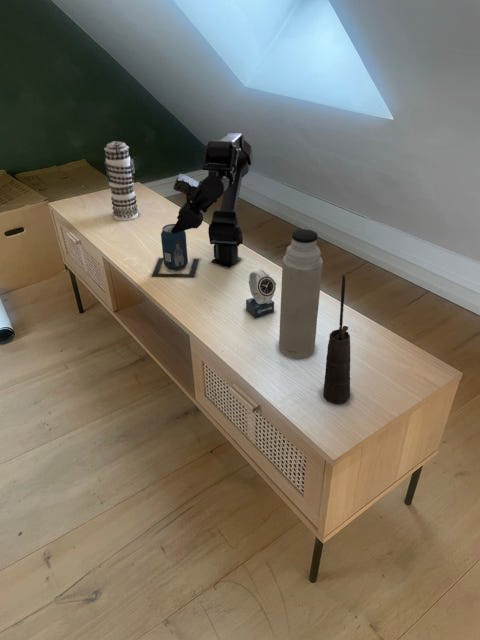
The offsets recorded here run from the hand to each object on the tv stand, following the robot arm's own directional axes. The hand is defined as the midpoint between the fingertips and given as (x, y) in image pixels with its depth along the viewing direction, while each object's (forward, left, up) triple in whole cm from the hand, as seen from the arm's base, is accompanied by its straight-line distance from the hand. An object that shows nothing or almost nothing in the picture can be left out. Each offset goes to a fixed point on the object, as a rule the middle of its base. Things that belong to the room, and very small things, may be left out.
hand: (175, 225), depth 138 cm
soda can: (+1, 0, -13) cm, 13 cm away
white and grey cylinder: (+41, -19, -13) cm, 46 cm away
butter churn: (-61, +22, -13) cm, 67 cm away
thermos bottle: (-47, +14, -13) cm, 51 cm away
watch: (-32, +6, -13) cm, 36 cm away
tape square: (+1, 0, -13) cm, 13 cm away
